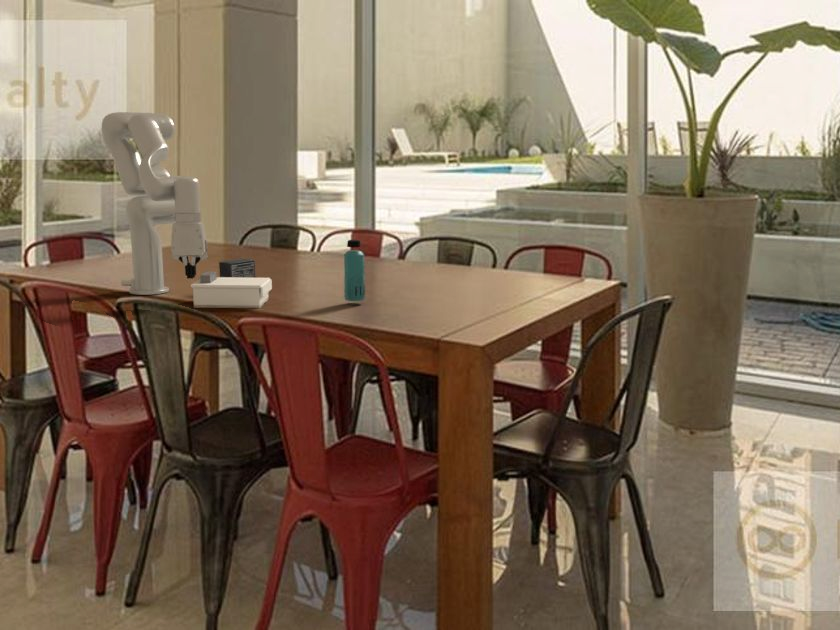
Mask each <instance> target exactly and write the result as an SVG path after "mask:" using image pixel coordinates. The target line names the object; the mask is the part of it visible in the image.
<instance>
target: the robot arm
mask: <svg viewBox="0 0 840 630" xmlns="http://www.w3.org/2000/svg"><path fill="white" fill-rule="evenodd" d="M175 133H176V127H175V123H174V121H173V119H172V118H171V117H170V116H169V115H167V114H165V113H153V112H132V111H131V112H130V111H128V112H122V111H120V112H119V111H118V112H112V113H108V114H106V115H105V116H104V117H103V119H102V122H101V135H102V138H103V141H104V144H105V146H106V148H107V151H109V153H110V154H111V157H112V158H113V161H114V164H115V167H116V170H117V174H118V176H119V179H120V182H121V185H122V188H123V190H124V192H125V194H127V195H129V196H134V197H132V198H130V199H129V200H128V201H127V203H126V204H125V205H126V206H125V211H126V212H125V213H126V217H127V221H128V226H129V233H130V242H131V243H130V246H131V254H132V255H131V257H132V260H131V261H132V277H133V278H131V279H122V280H121V287H130V288H129V289H128V290H129V292H128V293H129V294H131V295H137V296H142V295H143V296H149V295H160V294H165V293H168V292H169V291H170V288H169V286H165V283H164V282H165V281H164V280H165V279H164V267H163V266H164V264H163V263H164V261H163V248H162V247H163V246H162V237H161V234H159V232H158V231H157V229H156V227H155V226H157V225H158V226H159V225H170V224H172V227H171V237H170V238H171V239H170V240H171V241H170V243H171V245H170V249H171V250H170V251H171V254H172V256H171V257H172V259H174V260H178V261H180V263H182V264H183V266H184V273H185V276H186V279H189V280H190V279H194V278H195V277H196V275H197V264H198V263H199V262H200V261H202V260H206V259H208V258H209V256H208V242H207V234H206V229H205V224H204V222H202V218H201V217H202V216H201V215H202V213H201V192H200V191H201V190H200V181H199V179H198V178H197V177H188V176H185V175H171V174H170V173H169V171H168V170H167V169H166V168H164V167H163V166H160V165H159V164H161V163H162V162H164V161H165V160H166V159H167V158H168V156H169V154H170V149H169V148H170V147H169V146H168V144H167V143H166V141H170V140H172V139H173V138H174V136H175ZM127 139H129V140H130V139H133V141H134V143H135V145H136V147H137V148H136V147H135V146H134V145H133V144H132V143H131V142H130V141H128V140H127ZM158 165H159V166H158ZM135 196H136V197H135ZM190 257H191V259H190ZM190 260H191V261H190Z"/></svg>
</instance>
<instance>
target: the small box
mask: <svg viewBox="0 0 840 630" xmlns="http://www.w3.org/2000/svg"><path fill="white" fill-rule="evenodd" d="M218 264H219V265H218V266H219V277H244V278H256V265H255V264H256V263H255V259H250V258H249V259H248V258H240V259H232V260H231V259H230V260H224V261H219V262H218Z"/></svg>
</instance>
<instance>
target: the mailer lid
mask: <svg viewBox="0 0 840 630" xmlns="http://www.w3.org/2000/svg"><path fill="white" fill-rule="evenodd" d="M199 277H200V278H199V279H198V280H196V281H195V282H193V283H192V284H190V288H192V289H193V288H260V289H261V297H263V296H264V295H265V294H267V293H268V294H269V292H270V291H271V290H272V289H273V283H272V282H273V281H272V280H273V279H271V278H270V277H255V278H244V277H220V276H219V277H218V276H217V271H213V270H212V271H211V270H210V271H209V270H208V271H205V272H203V273H201V274H200V275H199Z"/></svg>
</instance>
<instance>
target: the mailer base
mask: <svg viewBox="0 0 840 630" xmlns="http://www.w3.org/2000/svg"><path fill="white" fill-rule="evenodd" d="M192 291H193V292H192V293H193V295H192V296H193V308H202V309H203V308H205V309H206V308H213V309H214V308H215V309H216V308H217V309H219V308H220V309H223V308H224V309H226V308H227V309H261V308H262V307H263V306H264V305H265V304H266V303H267V302H268V301H269V292H268V293H267V294H265V295H264V296H263V297H261V289H260V288H192ZM265 302H266V303H265ZM264 303H265V304H264Z"/></svg>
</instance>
